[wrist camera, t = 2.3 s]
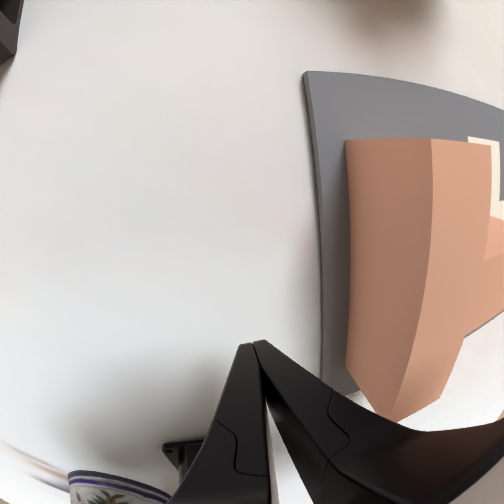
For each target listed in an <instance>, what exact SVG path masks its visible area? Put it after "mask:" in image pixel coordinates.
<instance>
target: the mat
mask: <svg viewBox="0 0 504 504" xmlns="http://www.w3.org/2000/svg"><path fill="white" fill-rule="evenodd" d="M303 79H304V85H305V91H306V98H307V105H308V112H309V119H310V126H311V134H312V143H313V152H314V161H315V171H316V182H317V193H318V206H319V221H320V238H321V260H322V298H323V338H322V376H321V381H323V382H324V383H325V384H327V385H328V386H330V387H331V388H333V389H334V391H335V390H336V391H337V392H339V393H340V394H342V395H343V396H345V395H348V394H350V393H353V392H356V391H358V390H361V389H360V388H359V386H358V385H357V383H356V382H355V380H354V379H353V377H352V376H351V374H350V373H349V371H348V370H347V368H346V367H345V358H346V347H347V334H348V320H349V300H350V209H349V189H348V174H347V161H346V151H345V141H344V140H351V139H375V138H426V139H441V140H452V141H461V142H469V143H477V144H484V145H490V146H491V159H492V187H491V207H490V216H493V217H496V218H499V219H501V220H504V110H501V109H499V108H496V107H494V106H491V105H489V104H486V103H483V102H480V101H478V100H475V99H472V98H469V97H466V96H462V95H459V94H456V93H452V92H449V91H445V90H441V89H438V88H434V87H430V86H425V85H421V84H416V83H412V82H407V81H401V80H396V79H390V78H383V77H377V76H369V75H361V74H351V73H339V72H323V71H306V72H305V73H303ZM503 311H504V310H502V311H501V312H500V313H498V314H497V315H496V316H498V315H499V314H501V313H502V312H503ZM496 316H494V317H493V318H491V319H490V320H488V321H487V322H486V323H484V324H483V325H481V326H480V327H478V328H477V329H475V330H473V331H472V332H470V333H469V334H467V335H466V336H465V337H467V336H468V335H470V334H472V333H473V332H475V331H476V330H478V329H479V328H481V327H482V326H484V325H485V324H487V323H488V322H489V321H491V320H492V319H494V318H495V317H496ZM465 337H464V338H465Z"/></svg>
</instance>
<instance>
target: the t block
mask: <svg viewBox="0 0 504 504" xmlns="http://www.w3.org/2000/svg"><path fill="white" fill-rule="evenodd" d="M344 141H345V151H346V161H347V174H348V189H349V209H350V300H349V320H348V334H347V347H346V358H345V367H346V368H347V370H348V371H349V373H350V374H351V376H352V377H353V379H354V380H355V382H356V383H357V385H358V386H359V388H360V389H361V391H362V392H363V394H364V395H365V397H366V398H367V400H368V401H369V403H370V404H371V406H372V407H373V409H374V410H375V412H376V413H377V414H378V415H380V416H382V417H384V418H387V419H389V420H391V421H393V422H398V421H400V420H402V419H404V418H406V417H408V416H410V415H411V414H413V413H415V412H417V411H419V410H420V409H422V408H424V407H426V406H427V405H429V404H431V403H432V402H434V401H436V400H437V399H439V398H440V396H441V394H442V391H443V389H444V387H445V385H446V383H447V381H448V378H449V376H450V374H451V371H452V369H453V366H454V364H455V361H456V359H457V356H458V354H459V351H460V348H461V345H462V343H463V340H464V337H465V336H466V335H467V334H469V333H470V332H472V331H473V330H475V329H477V328H478V327H480V326H481V325H483V324H484V323H486V322H487V321H488V320H490V319H491V318H493V317H494V316H496V315H497V314H498V313H500V312H501V311H502V310H504V220H501V219H499V218H496V217H493V216H490V207H491V187H492V159H491V146H490V145H484V144H477V143H469V142H461V141H452V140H441V139H426V138H375V139H351V140H344Z"/></svg>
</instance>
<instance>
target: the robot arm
mask: <svg viewBox="0 0 504 504" xmlns="http://www.w3.org/2000/svg"><path fill="white" fill-rule="evenodd" d="M266 403H267V405H266ZM267 406H268V408H269V411H270V413H271V415H272V417H273V420H274V422H275V424H276V426H277V429H278V431H279V433H280V435H281V437H282V440H283V442H284V444H285V446H286V448H287V450H288V452H289V454H290V457H291V459H292V461H293V463H294V465H295V467H296V469H297V471H298V473H299V475H300V477H301V479H302V481H303V483H304V485H305V487H306V489H307V491H308V493H309V495H310V497H311V499H312V501H313V503H314V504H504V418H502V419H500V420H498V421H495V422H493V423H489V424H485V425H480V426H474V427H467V428H460V429H452V430H442V431H429V432H427V431H418V430H414V429H410V428H408V427H405V426H403V425H400V424H398V423H396V422H393V421H391V420H389V419H387V418H384V417H382V416H380V415H378V414H376V413H374V412H371V411H369V410H367V409H366V408H364V407H362V406H360V405H358V404H356V403H354V402H353V401H351V400H350V399H348V398H346V397H345V396H343V395H342V394H340V393H339V392H337V391H336V390H335V391H334V389H333V388H331V387H330V386H328V385H327V384H325V383H324V382H323V381H321V380H320V379H318V378H317V377H315V376H314V375H313V374H311V373H310V372H308V371H307V370H306V369H304V368H303V367H301V366H300V365H299V364H297V363H296V362H294V361H293V360H292V359H290V358H289V357H288V356H286V355H285V354H284V353H282V352H281V351H280V350H278V349H277V348H276V347H274V346H273V345H272V344H270V343H269V342H268V341H266V340H259V341H254V342H253V343H245V344H240V345H239V346H238V349H237V352H236V355H235V358H234V361H233V364H232V367H231V369H230V372H229V375H228V378H227V381H226V384H225V386H224V389H223V392H222V395H221V398H220V401H219V403H218V406H217V409H216V412H215V414H214V417H213V420H212V422H211V425H210V428H209V431H208V433H207V435H206V438H205V440H200V441H191V442H181V443H167V444H163V446H162V451H163V453H164V454H165V455H166V456H167V458H168V459H169V460H170V461H171V462H172V464H173V465H174V466H175V467H176V468H177V470H178V471H179V487H178V489H177V490H176V492H175V494H174V495H173V496H172V498H171V499H170V500H169V501H168V502H167V503H166V504H279V498H278V490H277V483H276V475H275V467H274V459H273V451H272V444H271V436H270V428H269V420H268V412H267Z"/></svg>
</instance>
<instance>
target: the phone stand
mask: <svg viewBox="0 0 504 504" xmlns="http://www.w3.org/2000/svg"><path fill="white" fill-rule="evenodd" d="M23 3H24V0H0V63H2V62H3V61H5V60H6V59H7V58H9V57H10V56H12V55H13V54H15V53H16V51H17V42H18V33H19V26H20V19H21V14H22V8H23Z"/></svg>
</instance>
